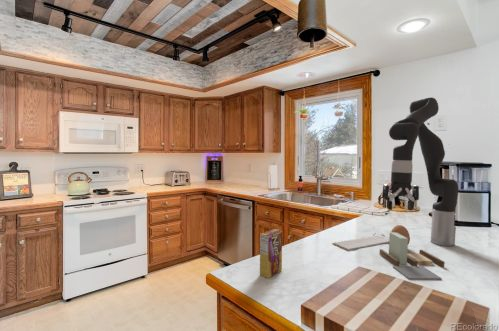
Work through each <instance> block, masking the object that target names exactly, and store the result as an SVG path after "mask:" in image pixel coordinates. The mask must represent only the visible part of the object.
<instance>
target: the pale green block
mask: <svg viewBox="0 0 499 331" xmlns="http://www.w3.org/2000/svg"><path fill="white" fill-rule="evenodd" d="M388 239H389V243H388V254H390V255H391V256H393V257H394V258H396V259H397V260H399V261H400V265H407V264H408V263H407V254H408V247H409V244H408V238H406V237H404V236H402V235H400V234H398V233H395V232H391V231H390V232H389V237H388Z"/></svg>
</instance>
